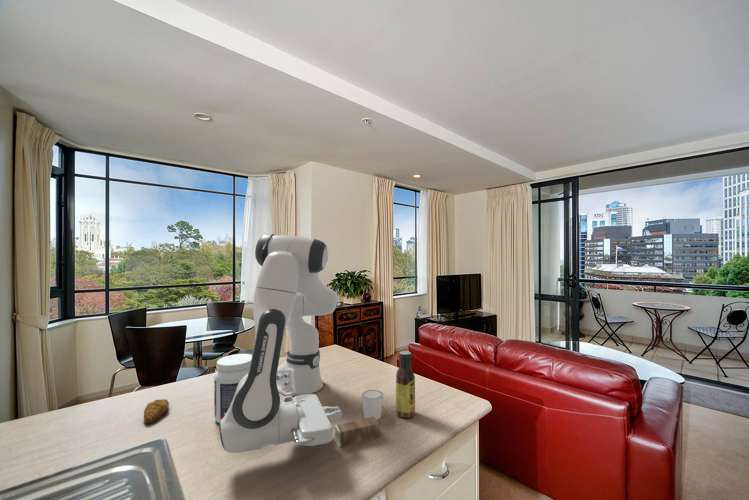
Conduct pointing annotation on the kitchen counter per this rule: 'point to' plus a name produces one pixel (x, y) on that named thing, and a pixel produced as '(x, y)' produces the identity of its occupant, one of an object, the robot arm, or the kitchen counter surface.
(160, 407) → the croissant
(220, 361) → the supplement tub
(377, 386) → the kitchen counter surface
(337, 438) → the walnut block
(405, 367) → the sauce bottle
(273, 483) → the kitchen counter surface
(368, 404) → the white tapered cylinder
